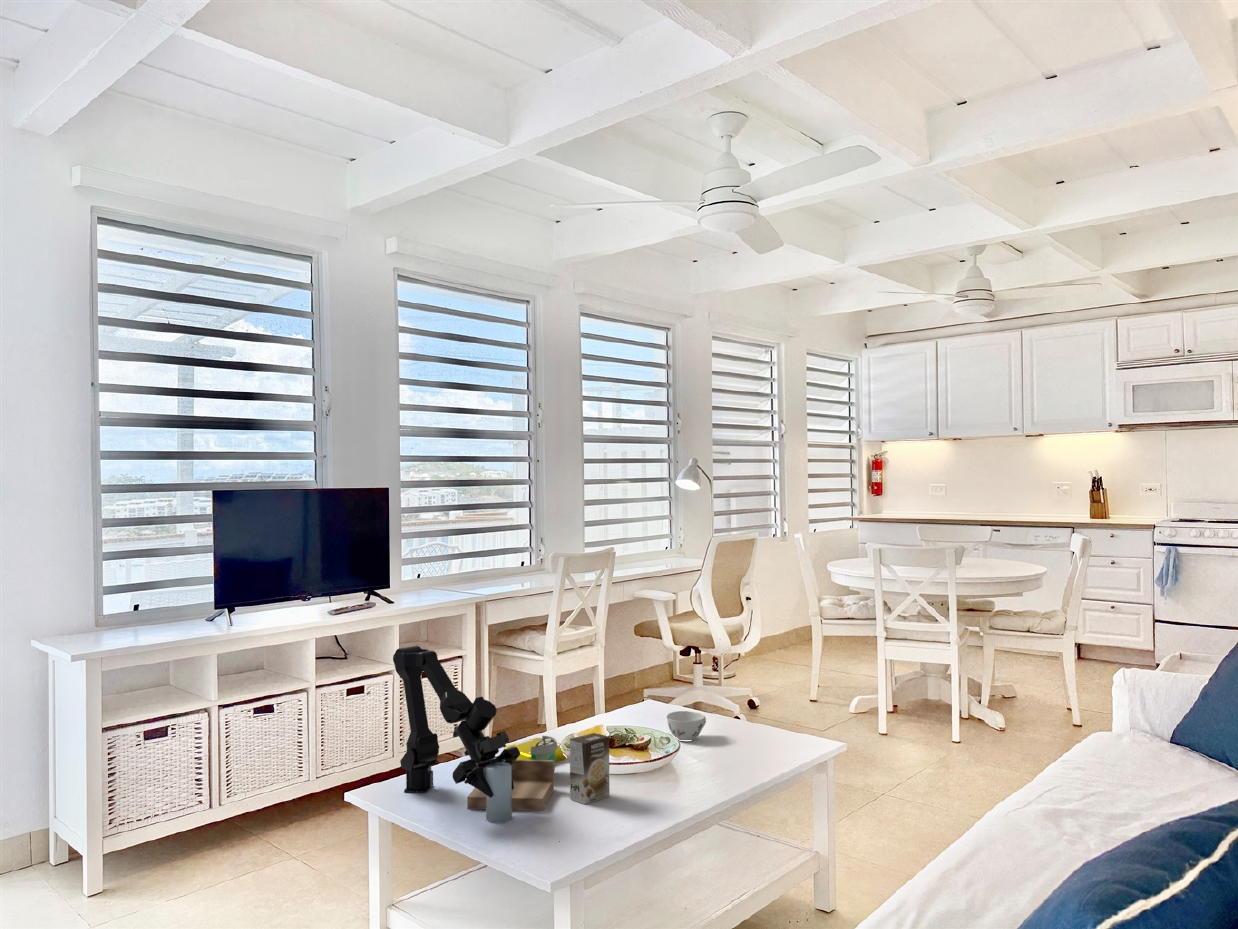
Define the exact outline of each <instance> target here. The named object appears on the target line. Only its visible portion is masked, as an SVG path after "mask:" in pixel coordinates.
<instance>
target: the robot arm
mask: <svg viewBox="0 0 1238 929" xmlns="http://www.w3.org/2000/svg"><path fill="white" fill-rule="evenodd" d="M438 657H439V656H438V653H437V652H436V651H434V650H430V649H427V648H422V647H421V646H419V645H412V646H406V647H405V646H404V647H400V648H398V649H396V650H395V652H394V653H393V656H392V661H393V664H394V665H393V666H394V668H395V672H396V674H397V675H398V676H399V677H400V679H402V681H403V688H404V695H405V702H406V708H407V714H408V723H409V730H410V732H409V735H408V738H407V741H406V752H405V753H404V755H403V756H402V758H401V759H400V762H399V763H400V767H401V769H402V770H405V772H406V773H405V777H406V778H405V780H406V781H405V786H406V788H405V789H404V790H403V792H404V793H427V792H428V791H429V790H430V789H431V788H432V787H433V786H434V771H433V770H432V766H435V765H437V760H438V756H439V752H440V744H439V739H438V734H437V733H433V731H431V729H430V728H429V721H428V715H427V710H426V703H425V697H424V696H425V695H424V689H423V681H422V675H423V673H424V675H425V677H426V678H427V680H428V682H429V684H430V685H431V687H432V688H433V690H434V692H435V693H436V695H437V697H438V699H439V702H440V703H439V711H440V712H441V715H442V717H443V719H444V721H445V722H446V723H448V724H455V723H458V722H460V723H459V724H458V725H456V726H454V729H453V732H452V738H459V739H460V741H461V742H462V745H463V747H464V748H465V751H464V752H463V754H464V756H465V757H467V756H469V758H470V759H467V760H463V761H461V762H459V764H458V765H457V766H456V768H455V769H454V770H453V771H452V779H453V782H454V783H455V784H460V783H463V782H464V784H466V785H467V784H468V785H470V786H472V787H473V788H477V789H478V790H480V791H481V792H483V793H484V794H486V795H487V796H489V797H490V798H491V797H493V792H492V790H491V788H490V786H489V784H488V782H487V780H486V778H485V776H484V771H483V769H484V768H486V766H487V765H489V764H492V763H498V762H504V763H509V764H511V765H512V764H513V763H514V762H515V760H516V759H517V758H518V757H519V755H520V754H521V753H520V751H519V750H518V748H517V747H514V746H513V747H510V748H506V749H504V747H506V746H507V744H508V743H509V742H510V738H509V734H507V732H506V731H505V730H502V731H499V732H497V733H496V734H495V735H496V736H495V735H494V736H492V737H491V736H489V735H485V734H484V732H483V731H484V730H486V728H487V727H488V726H489V725H490V723H491V721H492V720H494V718H495V717H496V715H497V708H496V705H495V704H494V703H492V702H491V701H489V700H487V699H484V697H483V696H478V697H476V698H475V699H474V700H473V702H472V701H471V700H470V699H469V698H468V696H467V695H466V694H465V693H464V692H462V691H461V690H459V689H457V687H456V686H455V685H454V684H453V682H452V680H451V678H450V677H449V675H448V673H447V672H446V670H445V669H444V667H443V666H442V664H441V662H440V660H439V658H438ZM502 748H503V750H502V751H501V752H500V750H499V749H502ZM499 752H500V754H499ZM498 754H499V755H498ZM496 755H497V756H496ZM511 780H512V790H513V789H514V785H513V779H512V772H511Z"/></svg>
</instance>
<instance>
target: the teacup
mask: <svg viewBox="0 0 1238 929" xmlns="http://www.w3.org/2000/svg"><path fill="white" fill-rule="evenodd" d="M666 721H667V725H668V730H669V731H670V732H671V734H672V735H673V736H675V737H677V738H678V739H679V740H693V739H694V740H696V739H697V737H698V736H699V735H700V734H701V732H702V730H703V728H704V726H706V723H707V719H706V716H705V715H704V714H702V713H701V712H694V711H689V710H685V711H684V710H679V711H673V712H669V713H668V714H667V715H666ZM675 737H674V738H675ZM694 740H693V741H694Z"/></svg>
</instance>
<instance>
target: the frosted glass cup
mask: <svg viewBox="0 0 1238 929" xmlns="http://www.w3.org/2000/svg"><path fill="white" fill-rule="evenodd" d="M486 780H487V782H488V784H489V786H490V788H491V790H492V792H493V797H491V798H490V797H489V796H487V795H486V809H485V810H486V812H485V813H486V814H485V816H486V822H488V823H492V824H503V823H507V822H509V821H511V820H513V810H512V780H511V764H509V763H504V762H498V763H492V764H489V765H487V766H486Z"/></svg>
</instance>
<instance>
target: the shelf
mask: <svg viewBox="0 0 1238 929" xmlns="http://www.w3.org/2000/svg"><path fill="white" fill-rule="evenodd" d="M483 771H484V776H485V778H486V768H484V769H483ZM511 772H512V779H513V785H514V789H513V790H512V811H514V810H515V811H516V810H517V811H544V808H545V807H546V805H547V803H548V802H549V799H550V798H551V796H552V794H553V792H554V790H555V769H554V760H515V762H514V763H513V764H512V765H511ZM468 794H469V795H467V800H466V804H467V806H466V807H467V808H466V809H468V810H474V809H475V810H486V794H484V793H483V792H481V791H480V790H478V789H477V788H475V787H473V789H472V791H471V792H470V793H468Z"/></svg>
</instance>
